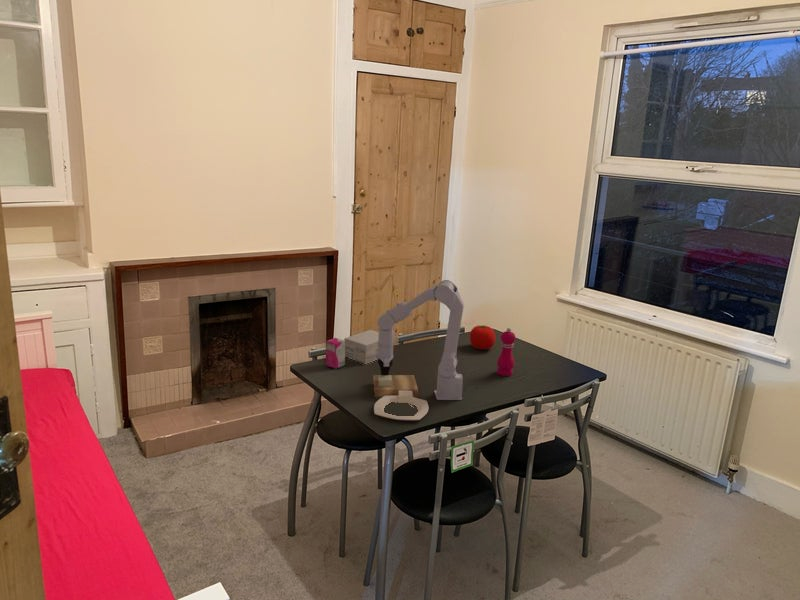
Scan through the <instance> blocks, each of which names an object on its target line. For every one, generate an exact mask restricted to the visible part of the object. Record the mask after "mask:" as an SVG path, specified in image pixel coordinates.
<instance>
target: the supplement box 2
mask: <svg viewBox="0 0 800 600" xmlns="http://www.w3.org/2000/svg"><path fill="white" fill-rule="evenodd" d="M378 337H379V331H377V330H372V329H369V330H366V331H363V332H359V333H356V334H353V335H350V336H347V337H345V338H344V339H343V340H345V357H348V358H350V359H353V360H356V361H359V362H362V363H364V364H367V363H370V362H372V363H374V362H373V361H375V360H377V361H378V357H375V354H378ZM346 355H347V356H346ZM350 359H349V360H350ZM353 360H352V361H353ZM356 361H355V362H356ZM375 362H376V361H375ZM364 364H363V365H364ZM370 364H371V363H370ZM367 365H368V364H367Z"/></svg>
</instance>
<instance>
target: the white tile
mask: <svg viewBox="0 0 800 600" xmlns="http://www.w3.org/2000/svg"><path fill="white" fill-rule="evenodd" d="M398 398H399V402H407V403H413V393H412V391H400V390H399V395H398Z"/></svg>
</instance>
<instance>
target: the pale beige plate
mask: <svg viewBox="0 0 800 600" xmlns="http://www.w3.org/2000/svg"><path fill="white" fill-rule="evenodd" d="M391 402H395V403H397V402H398V403H407V402H399V398H398V396H397V395H385V396H384V397H382V398H378V400H377V401H376V402H375V403H374V405H373V412H374V415H376V416H379V417H382V418H387V419H392V420H396V421H397V420H398V421H420V420H422V418H424V417H425V416H426V415H427V413H428V412H429V408H430V407H429V403H428V401H427V400H426V399H421V398H414V397H413V403H408V404H409V405H410V404H411V405H410V406H411V407H413V406H412V405H415V406H416V407H417V409H418V412H417V413H416V414H415V415H414V416H396V415H392V414H388V413H385V412H384V408H385V406H386V405H388V404H389V403H391ZM413 408H414V407H413Z"/></svg>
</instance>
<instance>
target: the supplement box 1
mask: <svg viewBox="0 0 800 600" xmlns="http://www.w3.org/2000/svg"><path fill="white" fill-rule="evenodd" d="M325 354H326V355H325V356H326V357H325V358H326V359H325V363H326V364H325V365H326V366H325V367H327V366H329V367H328V368H330V367H332V368H331V369H333V368H335V369H336V368H339V367H341V366H344V365H345V366H346V358H345V340H344V339H341V338H337V337H334V338H331V339H328V340H326V341H325ZM345 366H344V367H345ZM341 368H342V367H341ZM335 369H334V370H335ZM339 369H340V368H339ZM336 370H337V369H336Z"/></svg>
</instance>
